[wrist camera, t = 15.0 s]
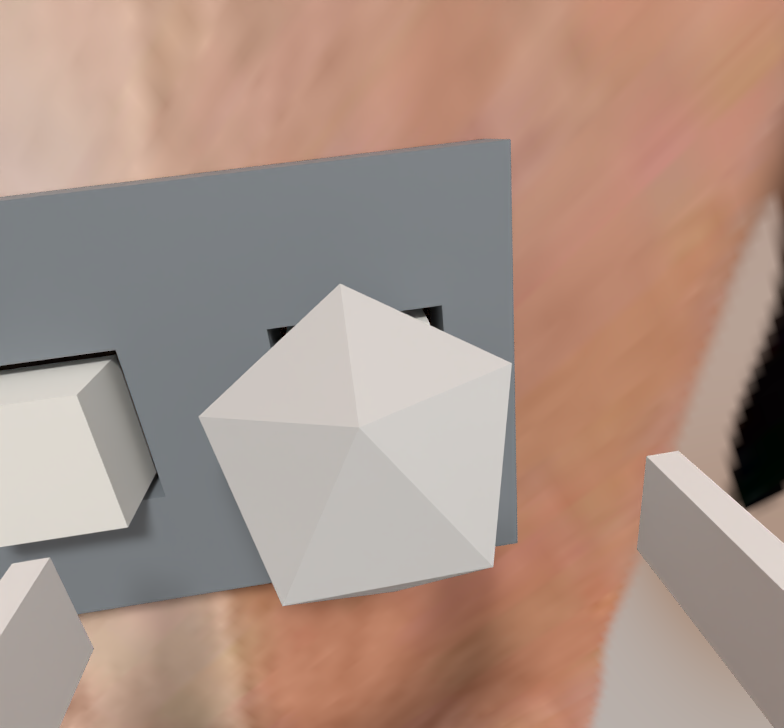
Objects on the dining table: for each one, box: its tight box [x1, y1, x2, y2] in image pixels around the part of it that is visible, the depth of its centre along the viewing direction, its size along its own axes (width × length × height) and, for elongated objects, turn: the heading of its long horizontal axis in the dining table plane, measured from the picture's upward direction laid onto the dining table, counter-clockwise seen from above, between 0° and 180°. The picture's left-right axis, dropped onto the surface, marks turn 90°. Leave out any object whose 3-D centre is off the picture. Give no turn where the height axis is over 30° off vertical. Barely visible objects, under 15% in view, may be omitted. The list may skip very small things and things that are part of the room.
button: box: [0, 355, 156, 547], centre depth 18 cm, size 5×5×3 cm
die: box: [199, 284, 512, 606], centre depth 16 cm, size 8×9×10 cm
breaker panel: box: [0, 139, 517, 614], centre depth 20 cm, size 22×16×3 cm
